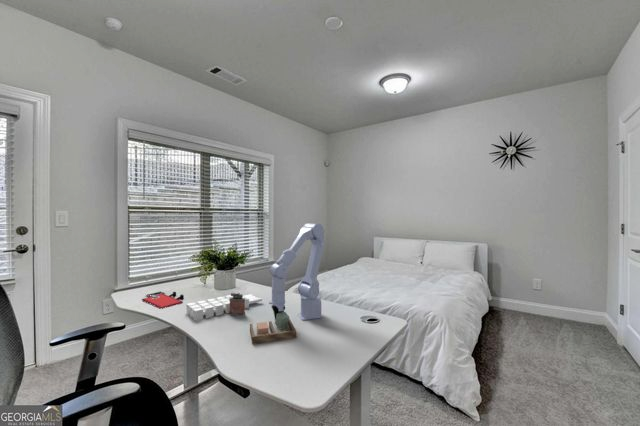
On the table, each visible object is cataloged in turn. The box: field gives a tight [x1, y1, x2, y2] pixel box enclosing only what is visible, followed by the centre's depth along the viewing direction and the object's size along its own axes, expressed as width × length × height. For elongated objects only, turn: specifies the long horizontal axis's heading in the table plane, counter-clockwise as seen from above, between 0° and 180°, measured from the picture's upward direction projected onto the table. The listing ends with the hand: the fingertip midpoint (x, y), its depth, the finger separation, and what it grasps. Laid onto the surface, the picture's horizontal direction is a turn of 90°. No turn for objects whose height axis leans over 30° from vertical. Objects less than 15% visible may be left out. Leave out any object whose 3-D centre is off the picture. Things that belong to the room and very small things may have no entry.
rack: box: [249, 318, 298, 345], centre depth 114 cm, size 17×13×3 cm
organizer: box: [186, 293, 263, 322], centre depth 144 cm, size 13×5×35 cm
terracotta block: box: [256, 321, 270, 335], centre depth 111 cm, size 4×6×4 cm, turn 18°
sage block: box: [274, 311, 290, 330], centre depth 120 cm, size 4×4×5 cm
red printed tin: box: [228, 292, 246, 316], centre depth 136 cm, size 8×3×10 cm, turn 74°
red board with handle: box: [141, 291, 185, 309], centre depth 158 cm, size 30×3×15 cm
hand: (278, 322), depth 123 cm, fingers closed, pressing on sage block
